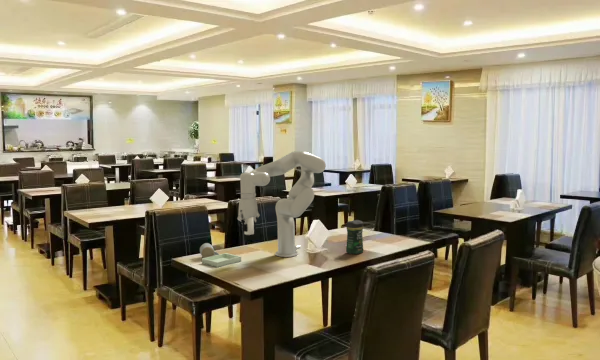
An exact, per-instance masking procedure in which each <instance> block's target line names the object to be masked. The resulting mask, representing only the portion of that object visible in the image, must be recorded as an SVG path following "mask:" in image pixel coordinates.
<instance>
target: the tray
mask: <svg viewBox="0 0 600 360" xmlns="http://www.w3.org/2000/svg"><path fill="white" fill-rule="evenodd" d="M218 254H219V255H215V256H211V257H206V258H203V257H202V258H201V263H202V264H203V265H206V264H207V265H206V266H211V267H214V268H220V267H224V266H225V267H226V266H229V265H233V264H236V263H239V262H242V256H240V255H235V254H233V253H232V254H231V253H227V252H225V253H218Z"/></svg>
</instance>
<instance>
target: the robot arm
mask: <svg viewBox="0 0 600 360" xmlns="http://www.w3.org/2000/svg"><path fill="white" fill-rule="evenodd" d="M326 166H327V165H326V162H325V160H324V159H323V158H321V157H319V156H316V155H315V154H312V153H309V152H307V151H300V150H297V151H291V152H289V153H288V154H285V155H284V156H282V157H281V158H278V159H276V160H274V161H271V162H269V163H266V164H264V165H263V164H262V165H261V166H258V167H257V168H255V169H253V170H251V171H250V172H242V173H241V174H240V176H239V177H240V199H239V202H238V203H239V204H238V216H237V218H236V219H237V220H238V221H239V222H240V223H241V224H242V232H244V231H245V232H247V231H248V230H247V224H246V223H247V218H250V216H252V215H253V217H254V231H256V223H257V221H258V219H259V217H260V216H261V215H260V213H259V211H258V202H257V198H256V196H257V193H256V186H257V187H265V186H267V185H268V184H269V183H270V181H271V177H276V176H277V177H278V176H282V175H284V174H287V173H288V172H289V171H291V170H294V169H296V168H297V167H300V171H301V174H300V177H299V179H298V180H297V181H296V182H295V184H294V185H293V186H292V187H291V189H290V190H288V191H289V192H288V197H289V198H281V199H279V200H278V201H276V203H275V214H276V221H277V223H276V224H277V251H276V252H274V255H275V256H277V257H280V258H290V257H291V258H292V257H296V256H297V255H298V254H299V252H298V250H300V249H301V245H296V244H295V243H296V240H295V239H296V238H295V237H296V235H295V231H296V230H295V228H296V227H295V226H296V225H295V220H294V218H299V217H301V216H302V214H303V213H304V212H306V209H308V208H309V206H310V205H311V204H312V202H313V201H314V198H315V191H314V189H313V188H312V187H313V186H314V184H315V176H314V175H315V174H320V173H323V172H324V171H325V169H326ZM244 219H245V221H244Z"/></svg>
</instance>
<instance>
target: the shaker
mask: <svg viewBox="0 0 600 360" xmlns="http://www.w3.org/2000/svg"><path fill="white" fill-rule="evenodd" d="M244 221H245V219H244ZM246 224H247V230H248V231H247V232H245V231H243V232H244V235H246V236H250V235H252V236H253V235H254V234H255V230H254V217H253V215H252V216H250V218H247V223H246Z"/></svg>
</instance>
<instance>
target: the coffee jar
mask: <svg viewBox="0 0 600 360" xmlns="http://www.w3.org/2000/svg"><path fill="white" fill-rule="evenodd" d="M363 230H364V222H363V221H362V220H359V219H353V220H348V221H347V222H346V233H347V234H346V247H345V248H346V253H348V254H349V255H351V254H352V255H353V254H354V255H359V254H361V253H363V252H364V241H363V232H364V231H363Z"/></svg>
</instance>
